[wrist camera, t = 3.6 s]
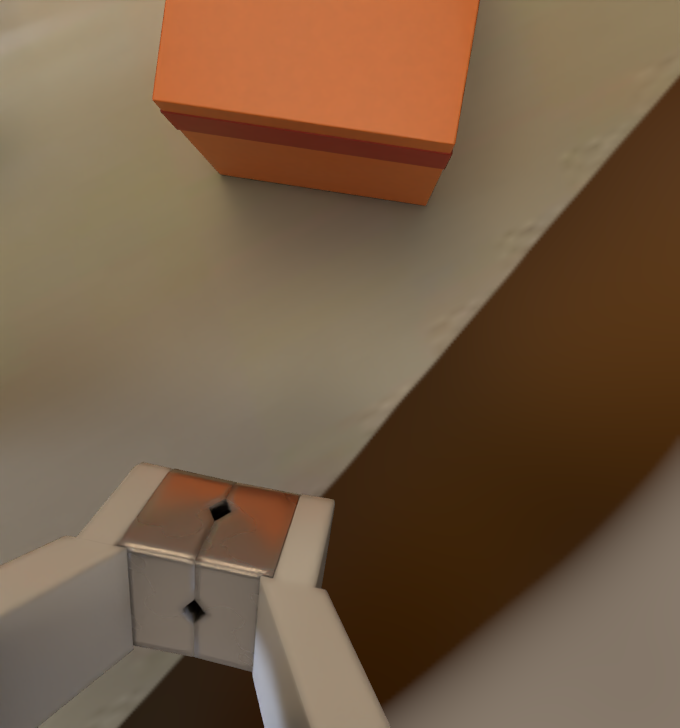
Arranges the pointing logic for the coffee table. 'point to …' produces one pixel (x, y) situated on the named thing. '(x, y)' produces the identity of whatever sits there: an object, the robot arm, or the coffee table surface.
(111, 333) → the coffee table surface
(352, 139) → the orange lidded box
